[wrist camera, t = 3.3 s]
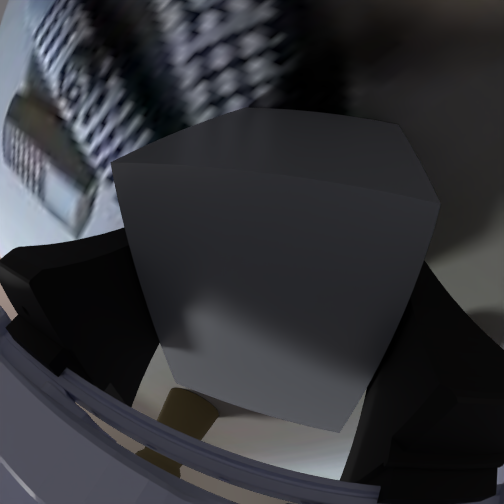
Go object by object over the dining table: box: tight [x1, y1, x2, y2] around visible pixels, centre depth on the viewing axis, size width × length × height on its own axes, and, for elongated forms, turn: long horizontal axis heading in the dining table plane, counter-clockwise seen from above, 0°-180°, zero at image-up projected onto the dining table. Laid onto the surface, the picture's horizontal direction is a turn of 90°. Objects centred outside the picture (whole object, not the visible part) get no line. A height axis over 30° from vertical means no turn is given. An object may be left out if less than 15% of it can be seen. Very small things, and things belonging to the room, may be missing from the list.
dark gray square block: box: [111, 107, 441, 433], centre depth 10 cm, size 6×8×7 cm
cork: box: [136, 388, 219, 478], centre depth 26 cm, size 6×6×11 cm
